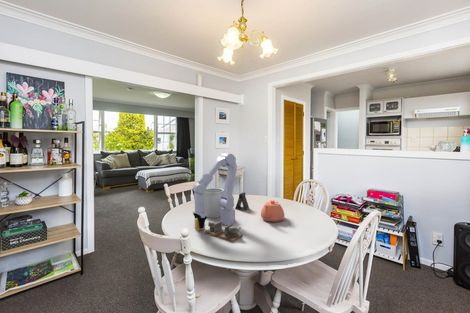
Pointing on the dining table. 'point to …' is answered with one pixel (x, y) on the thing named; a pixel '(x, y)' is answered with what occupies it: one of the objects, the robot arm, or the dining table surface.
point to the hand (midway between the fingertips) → (199, 225)
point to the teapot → (272, 211)
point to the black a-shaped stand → (242, 200)
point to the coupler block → (198, 225)
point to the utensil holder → (212, 202)
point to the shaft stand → (223, 231)
